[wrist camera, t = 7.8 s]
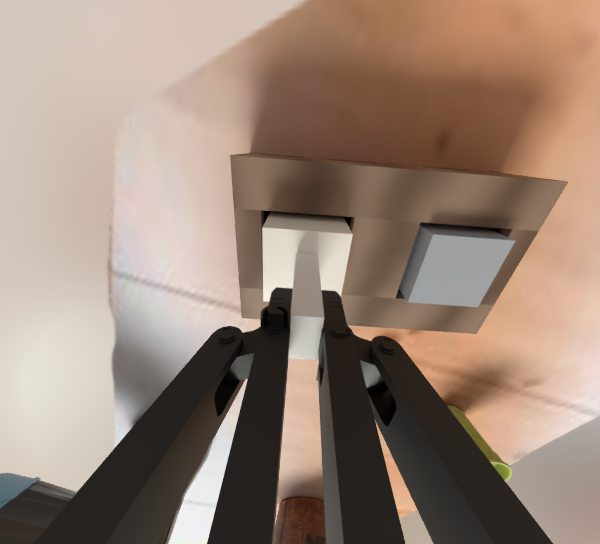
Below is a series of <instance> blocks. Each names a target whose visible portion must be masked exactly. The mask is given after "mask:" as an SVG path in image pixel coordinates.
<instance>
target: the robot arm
mask: <svg viewBox="0 0 600 544" xmlns="http://www.w3.org/2000/svg"><path fill="white" fill-rule="evenodd" d="M318 355H319V366H318V372H317V378H316V380H318V384H319V405H320V425H321V446H322V467H323V487H324V508H325V528H326V544H405V540H404V536H403V532H402V529H401V524H400V520H399V516H398V512H397V508H396V504H395V500H394V496H393V492H392V488H391V484H390V480H389V476H388V472H387V468H386V464H385V460H384V456H383V452H382V448H381V444H380V439H379V435H378V431H377V427H376V423H377V425H378V427H379V429H380V431H381V433H382V435H383V437H384V439H385V442H386V444H387V446H388V448H389V450H390V452H391V454H392V456H393V459H394V461H395V463H396V465H397V467H398V469H399V471H400V473H401V475H402V478H403V480H404V482H405V484H406V486H407V488H408V490H409V492H410V495H411V497H412V499H413V501H414V503H415V505H416V507H417V509H418V511H419V514H420V516H421V518H422V520H423V522H424V524H425V526H426V528H427V531H428V533H429V535H430V536H431V539H432V541H433V543H434V544H553V543H552V542H551V541H550V539H549V538H548V537H547V535H546V534H545V533H544V531H543V530H542V529H541V527H540V526H539V525H538V524H537V522H536V521H535V520H534V518H533V517H532V516H531V514H530V513H529V512H528V511H527V509H526V508H525V507H524V505H523V504H522V503H521V501H520V500H519V499H518V498H517V496H516V495H515V494H514V492H513V491H512V490H511V488H510V487H509V486H508V485H507V483H506V482H505V481H504V479H503V478H502V477H501V475H500V474H499V473H498V472H497V470H496V469H495V468H494V466H493V465H492V464H491V462H490V461H489V460H488V459H487V457H486V456H485V455H484V453H483V452H482V451H481V449H480V448H479V447H478V445H477V444H476V443H475V442H474V440H473V439H472V438H471V436H470V435H469V434H468V432H467V431H466V430H465V429H464V427H463V426H462V425H461V423H460V422H459V421H458V419H457V418H456V417H455V416H454V414H453V413H452V412H451V410H450V409H449V408H448V406H447V405H446V404H445V403H444V401H443V400H442V399H441V397H440V396H439V395H438V393H437V392H436V391H435V390H434V388H433V387H432V386H431V384H430V383H429V382H428V380H427V379H426V378H425V377H424V375H423V374H422V373H421V371H420V370H419V369H418V367H417V366H416V365H415V364H414V362H413V361H412V360H411V358H410V357H409V356H408V354H407V353H406V352H405V351H404V349H403V348H402V347H401V345H400V344H399V343H397V342H396V341H395V340H393V339H391V338H389V337H386V336H378V337H375V338H374V339H373V340H372V341H368V340H365V339H362V338H360V337H357V336H356V335H354V334H353V332H352V330H351V329H350V328H349V327H348V326H347V322H346V318H345V313H344V309H343V304H342V300H341V296H340V295H339V294H338V293H337V292H336V291H329V290H321V281H320V271H319V262H318V255H313V254H299V253H296V260H295V271H294V281H293V288H279V287H276V288H275V289H274V290H273V291H272V292H271V297H270V301H269V305H268V306H266V307H265V308H264V309H262V311H261V327H259V328H258V329H256V330H254V331H250V332H244V333H242V331H241V330H240V329H239V328H236V327H232V326H227V327H222V328H220V329H218V330H216V331H215V332H214V333H213V334H212V335H211V336H210V337H209V339H208V340H207V341H206V342H205V343H204V344H203V346H202V347H201V348H200V349H199V350H198V351H197V353H196V354H195V355H194V356H193V357H192V358H191V360H190V361H189V362H188V363H187V364H186V365H185V367H184V368H183V369H182V370H181V371H180V373H179V374H178V375H177V376H176V377H175V378H174V380H173V381H172V382H171V383H170V384H169V385H168V387H167V388H166V389H165V390H164V391H163V392H162V394H161V395H160V396H159V397H158V398H157V399H156V401H155V402H154V403H153V404H152V405H151V406H150V408H149V409H148V410H147V411H146V412H145V413H144V415H143V416H142V417H141V418H140V419H139V421H138V422H137V423H136V424H135V425H134V426H133V428H132V429H131V430H130V431H129V432H128V433H127V435H126V436H125V437H124V438H123V439H122V440H121V442H120V443H119V444H118V445H117V446H116V447H115V449H114V450H113V451H112V452H111V453H110V455H109V456H108V457H107V458H106V459H105V460H104V461H103V463H102V464H101V465H100V466H99V467H98V469H97V470H96V471H95V472H94V473H93V474H92V476H91V477H90V478H89V479H88V480H87V481H86V483H85V484H84V485H83V486H82V487H81V488H80V490H79V491H78V492H75V491H72V490H69V489H66V488H62V487H59V486H56V485H53V484H50V483H46V482H43V481H40V478H38V477H37V478H34V479H33V478H29V477H25V476H20V475H16V474H11V473H2V474H0V544H168V543H169V540H170V537H171V534H172V531H173V528H174V525H175V522H176V519H177V516H178V513H179V510H180V507H181V505H182V502H183V499H184V496H185V494H186V492H187V491H188V489H189V487H190V486H191V484H192V482H193V481H194V479H195V477H196V476H197V474H198V473H199V471H200V469H201V468H202V466H203V464H204V463H205V461H206V459H207V457H208V454H209V451H210V448H211V445H212V440H213V438H214V437H215V435H216V433H217V431H218V429H219V427H220V425H221V424H222V422H223V420H224V418H225V416H226V414H227V412H228V411H229V409H230V407H231V405H232V403H233V401H234V399H235V398H236V396H237V394H238V392H239V390H240V388H241V387H242V385H243V383H244V381H245V379H247V378H248V381H247V385H246V389H245V393H244V397H243V401H242V405H241V409H240V413H239V417H238V421H237V425H236V429H235V433H234V438H233V442H232V446H231V450H230V454H229V458H228V462H227V466H226V470H225V474H224V478H223V482H222V486H221V490H220V494H219V498H218V502H217V506H216V510H215V514H214V518H213V522H212V526H211V530H210V534H209V538H208V542H207V544H273V543H274V530H275V518H276V506H277V493H278V481H279V468H280V456H281V444H282V431H283V419H284V407H285V394H286V382H287V370H288V358H293V359H308V360H318ZM374 418H375V419H374ZM375 420H376V423H375Z"/></svg>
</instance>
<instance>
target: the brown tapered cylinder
mask: <svg viewBox="0 0 600 544" xmlns="http://www.w3.org/2000/svg"><path fill="white" fill-rule="evenodd" d="M273 544H326V528H325V508H324V502H322V501H320V500H318V499H314V498H307V497H297V498H290V499H286V500H284V501H282V502H281V504H280V506H279V511H278V516H277V520H276V525H275V530H274V543H273Z"/></svg>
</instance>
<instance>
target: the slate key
mask: <svg viewBox="0 0 600 544" xmlns="http://www.w3.org/2000/svg"><path fill="white" fill-rule="evenodd" d="M514 243H515V240H513V239H511V238H509V237H506V236H504V235H502V234H499V233H497V232H495V231H493V230H490V229H488V228H486V227H477V226H464V225H451V224H437V223H424V222H421V224H420V227H419V230H418V233H417V235H416V238H415V241H414V244H413V247H412V250H411V253H410V256H409V259H408V262H407V265H406V268H405V271H404V274H403V277H402V280H401V283H400V286H399V290H400V291H401V293H402V294H403V296H404V297H405V299H406V300H407V302H410V303H425V304H439V305H453V306H468V307H478V306H479V305H480V303H481V301H482V299H483V297H484V296H485V294H486V292H487V290H488V289H489V287H490V285H491V283H492V282H493V280H494V278H495V276H496V275H497V273H498V271H499V269H500V267H501V266H502V264H503V262H504V260H505V259H506V257H507V255H508V253H509V252H510V250H511V248H512V246H513V244H514Z"/></svg>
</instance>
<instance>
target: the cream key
mask: <svg viewBox="0 0 600 544" xmlns="http://www.w3.org/2000/svg"><path fill="white" fill-rule="evenodd" d="M352 236H353V233H352V232H351V230H350V228H349V226H348V224H347V223H346V221H345V219H344V218H341V217H327V216H314V215H301V214H287V213H274V212H270V214H269V216H268V218H267V220H266V222H265V224H264V225H263V227H262V238H263V301H266V302H269V301H270V297H271V292H272V291H273V290H274V289H275V288H276V287H279V288H293V281H294V271H295V260H296V253H299V254H313V255H318V262H319V271H320V281H321V290H329V291H336V292H337V293H338V294H339V295H340V296H341V294H342V289H343V283H344V278H345V273H346V268H347V262H348V257H349V252H350V247H351V242H352Z"/></svg>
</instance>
